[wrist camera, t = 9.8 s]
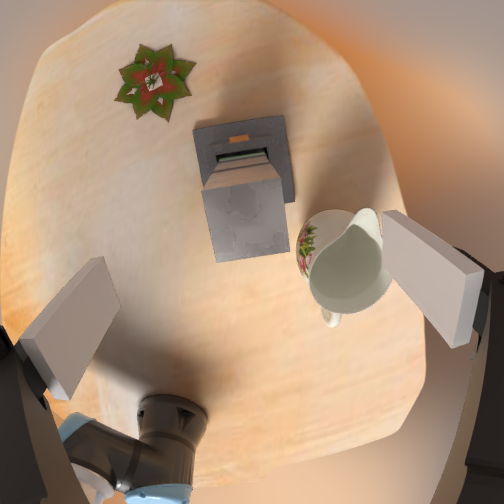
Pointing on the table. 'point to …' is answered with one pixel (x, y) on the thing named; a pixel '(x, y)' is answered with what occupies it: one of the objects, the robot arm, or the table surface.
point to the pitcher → (342, 261)
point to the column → (245, 208)
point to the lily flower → (138, 73)
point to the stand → (246, 147)
